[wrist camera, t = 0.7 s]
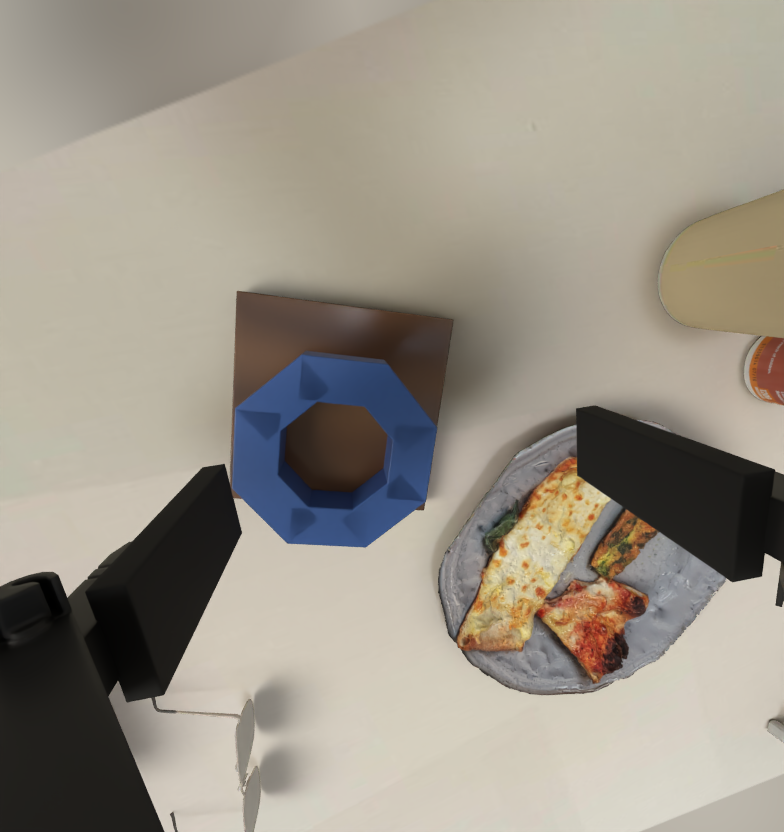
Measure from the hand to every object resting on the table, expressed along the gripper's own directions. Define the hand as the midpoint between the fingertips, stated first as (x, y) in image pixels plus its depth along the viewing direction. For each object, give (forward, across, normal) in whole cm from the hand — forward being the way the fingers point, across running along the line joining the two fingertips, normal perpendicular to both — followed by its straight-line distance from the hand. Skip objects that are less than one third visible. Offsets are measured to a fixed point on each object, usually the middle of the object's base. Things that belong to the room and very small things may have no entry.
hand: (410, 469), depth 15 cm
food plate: (+15, +15, -16) cm, 27 cm away
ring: (+6, -3, 0) cm, 6 cm away
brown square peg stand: (+15, -3, 0) cm, 15 cm away
